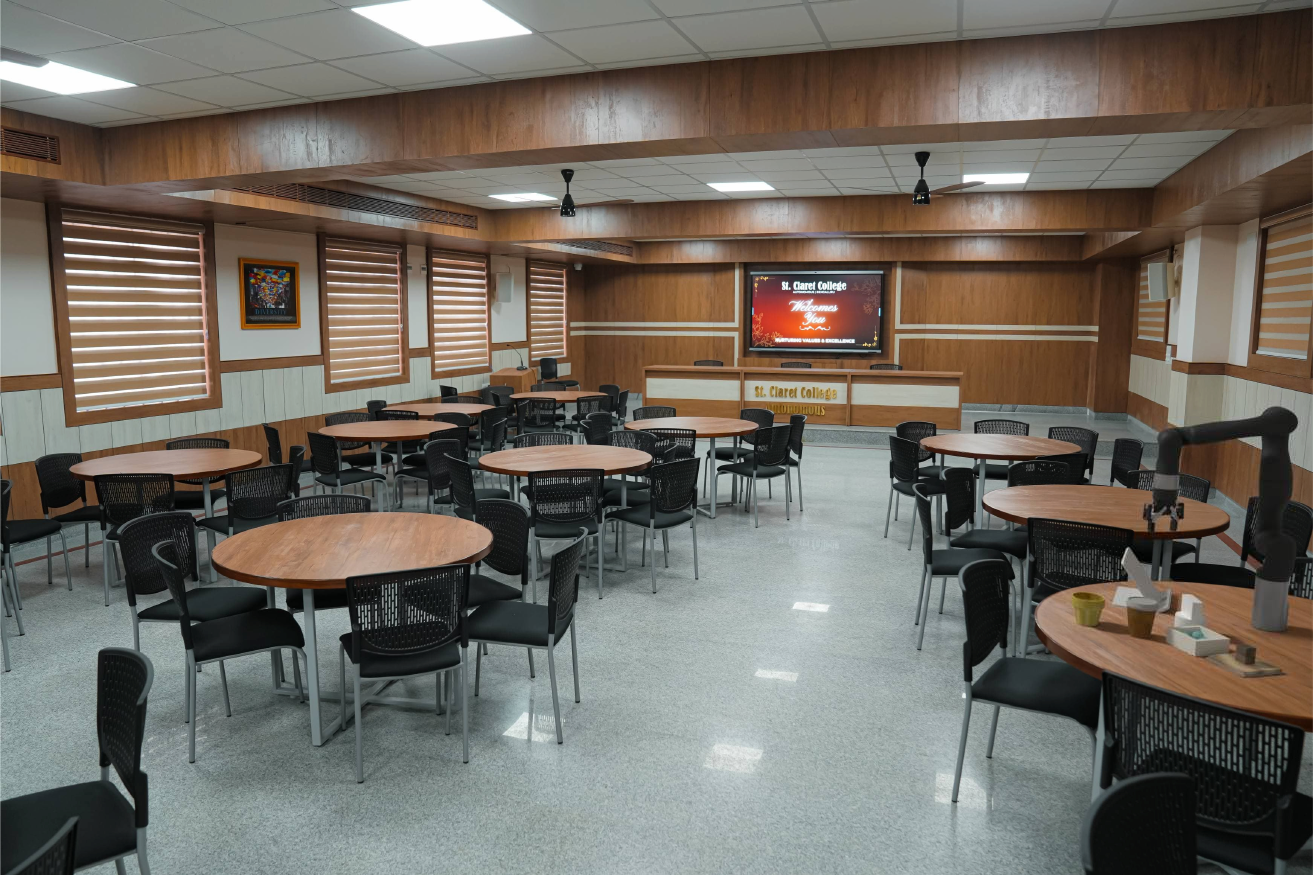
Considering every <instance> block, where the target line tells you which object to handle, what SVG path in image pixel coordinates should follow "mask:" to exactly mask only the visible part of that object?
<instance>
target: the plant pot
mask: <svg viewBox="0 0 1313 875" xmlns="http://www.w3.org/2000/svg"><path fill="white" fill-rule="evenodd" d="M1070 599H1071V602H1070V603H1071V605H1072V606H1073V611H1074V617H1075V618H1074V619H1075V622H1076V623H1077V625H1079V626H1080V625H1081V626H1083V625H1084V627H1097V626H1098V624H1099V621H1100V618H1101V614H1102V612H1103V610H1104V609H1105V606H1106V598H1105V596H1103V595H1102V594H1098V593H1096V592H1092V591H1091V592H1090V591H1076V592H1072V593H1071V597H1070Z"/></svg>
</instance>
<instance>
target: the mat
mask: <svg viewBox="0 0 1313 875" xmlns="http://www.w3.org/2000/svg"><path fill="white" fill-rule="evenodd" d="M1205 659H1206V660H1207V661H1209V662H1211V663H1213V664H1215V665H1217V666H1219V667H1221V668H1223V669H1225V670H1227V669H1228V671H1230V672H1231V671H1232V673H1233V672H1234V673H1233V674H1235V673H1236V674H1235V675H1237V674H1238V676H1239V675H1240V676H1239V677H1241V676H1242V677H1241V678H1252V677H1253V678H1254V677H1264V676H1265V675H1267V676H1275V675H1274V674H1280V675H1285V672H1284V671H1282V672H1279V673H1266V674H1253V675H1242V674H1240V673H1238V672H1236V671H1234V670H1232V669H1230V668H1228V667H1226V666H1224V665H1222V664H1220V663H1218V662H1216V661H1214V660H1212V659H1210V658H1209V656H1205Z"/></svg>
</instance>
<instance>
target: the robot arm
mask: <svg viewBox="0 0 1313 875" xmlns="http://www.w3.org/2000/svg"><path fill="white" fill-rule="evenodd" d="M1298 425H1299V419H1298V417H1297V415H1296V413H1294V412H1293V411H1292V410H1289V409H1288V408H1285V407H1284V406H1279V405H1275V406H1269V407H1268V408H1266V409H1264V411H1263V412H1262V413H1261V415H1258V416H1255V417H1250V418H1244V419H1242V418H1241V419H1235V420H1220V421H1211V422H1207V423H1206V422H1205V423H1199V424H1195V425H1190V426H1180V427H1179V426H1178V427H1171V428H1169V427H1168V428H1166V429H1162V430H1161V431H1160V432H1158V434H1157V437H1156V440H1157V443H1158V452H1157V454H1158V456H1157V459H1156V461H1155V473H1154V477H1153V485H1152V499H1153V502H1152V503H1148V502H1145V503H1144V505H1143V512H1142V513H1143V514H1142V519H1143V520H1145V521H1147V527H1146V528H1147V529H1146V530H1147V531H1148V532H1149V533H1152V534H1153V533H1155V531H1156V521H1157V519H1159V518H1160V517H1161V516H1162V517H1163V516H1169V518H1170V521H1169V522H1170V523H1169V531H1170V532H1173V533H1176V532H1177V530H1178V523H1179V521H1181V520H1184V519H1185V503H1184V502H1183V501H1182V502H1181V501H1178V498H1179V496H1178V495H1179V485H1180V479H1179V478H1180V476H1179V473H1180V459H1181V454H1182V450H1183V447H1187V446H1204V445H1210V444H1215V443H1220V442H1226V441H1227V442H1228V441H1232V440H1237V439H1238V440H1239V439H1244V438H1245V439H1246V438H1247V439H1248V438H1254V437H1255V438H1257V437H1260V440H1261V454H1260V462H1259V472H1258V503H1257V504H1258V507H1257V512H1258V513H1257V514H1258V515H1257V520H1256V521H1257V522H1256V527H1255V533H1254V546H1255V549H1256V551H1257V552H1259V554H1261V555H1262V556H1264V561H1263V565H1262V566H1260V567H1257V568H1256V570H1255V581H1254V591H1253V601H1252V610H1251V620H1250V625H1251V626H1252V627H1253V628H1255V629H1258V630H1262V631H1267V632H1278V633H1279V632H1283V631H1285V630H1287V629H1288V622H1289V621H1288V620H1289V610H1290V601H1288V597H1289V596H1288V595H1289V586H1290V580H1291V579H1290V578H1291V576H1292V574H1293V572H1294V570H1295V569H1294V568H1295V563H1296V557H1297V543H1296V541H1295V540H1294V538H1293V537H1291V536H1290V535H1287V534H1285V533H1283V530H1282V529H1283V522H1282V521H1283V515H1284V512H1285V509H1286V508H1287V506H1288V504H1289V503H1290V501H1291V498H1292V496H1293V490H1294V471H1293V465H1292V461H1291V457H1290V451H1289V442H1290V441H1289V440H1290V434H1292V433H1294V432H1295V431H1296V429H1298Z"/></svg>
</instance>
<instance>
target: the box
mask: <svg viewBox="0 0 1313 875" xmlns="http://www.w3.org/2000/svg"><path fill="white" fill-rule="evenodd" d="M1195 631H1199V632H1201V633H1203V635H1204V638H1207V639H1198V640H1196V639H1194V638H1192V634H1193V632H1195ZM1183 633H1188V634H1190V635H1191V637H1190V636H1188V635H1186V634H1183ZM1230 642H1231V639H1230V638H1228V637H1226V636H1224V635H1223V634H1220V633H1217V632H1215V631H1213V630H1212V629H1209V628H1207V627H1206V628H1205V627H1202V626H1200V625H1196V626H1182V627H1174V626H1172V627H1171V626H1170V627H1166V635H1165V643H1167V644H1168V645H1171V646H1173V647H1175V648H1176V649H1178V650H1181V651H1183V652H1185V653H1186V652H1187V653H1186V654H1189V655H1190V656H1192V655H1193V658H1194V657H1209V655H1214V654H1227V653H1230Z"/></svg>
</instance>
